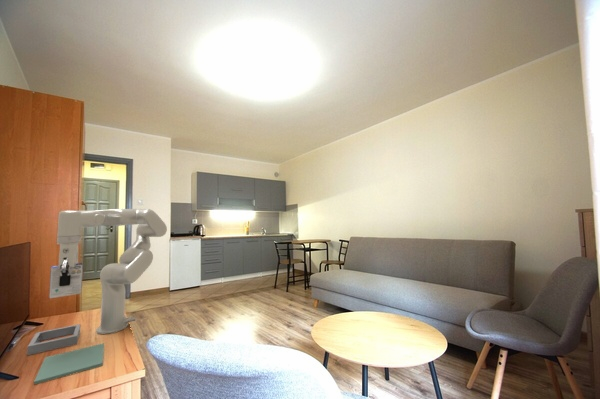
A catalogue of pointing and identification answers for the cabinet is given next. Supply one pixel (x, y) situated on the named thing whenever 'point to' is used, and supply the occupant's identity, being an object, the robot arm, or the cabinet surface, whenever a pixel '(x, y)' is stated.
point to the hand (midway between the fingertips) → (66, 283)
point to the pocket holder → (56, 343)
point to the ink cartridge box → (70, 289)
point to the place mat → (70, 363)
